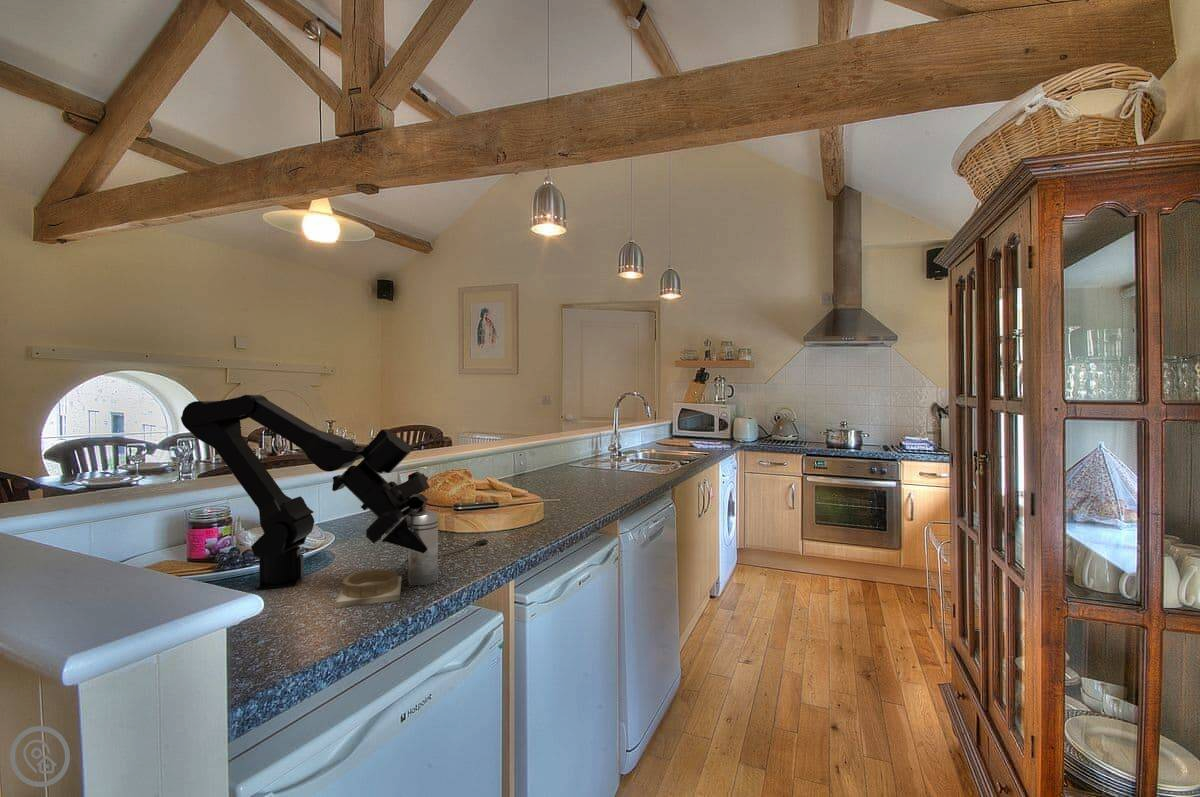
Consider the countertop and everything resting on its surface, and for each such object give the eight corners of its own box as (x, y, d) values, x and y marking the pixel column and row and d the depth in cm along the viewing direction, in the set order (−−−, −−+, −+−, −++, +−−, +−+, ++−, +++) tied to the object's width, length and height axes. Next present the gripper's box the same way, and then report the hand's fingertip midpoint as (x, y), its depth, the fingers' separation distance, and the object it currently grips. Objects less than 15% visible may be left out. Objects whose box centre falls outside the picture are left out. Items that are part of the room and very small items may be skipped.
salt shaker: (408, 587, 98) (407, 517, 98) (408, 578, 103) (408, 511, 103) (438, 583, 100) (438, 515, 100) (437, 574, 105) (437, 509, 105)
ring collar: (335, 608, 88) (335, 590, 88) (344, 587, 98) (344, 571, 98) (399, 600, 92) (399, 583, 92) (401, 581, 101) (401, 565, 101)
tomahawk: (420, 574, 108) (420, 568, 108) (403, 565, 113) (403, 560, 113) (500, 549, 124) (501, 545, 124) (483, 542, 129) (483, 538, 129)
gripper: (384, 466, 92) (447, 528, 92) (417, 455, 111) (470, 506, 111) (338, 512, 92) (402, 574, 92) (380, 492, 110) (433, 544, 111)
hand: (430, 546), depth 101 cm, fingers open, 6 cm apart
